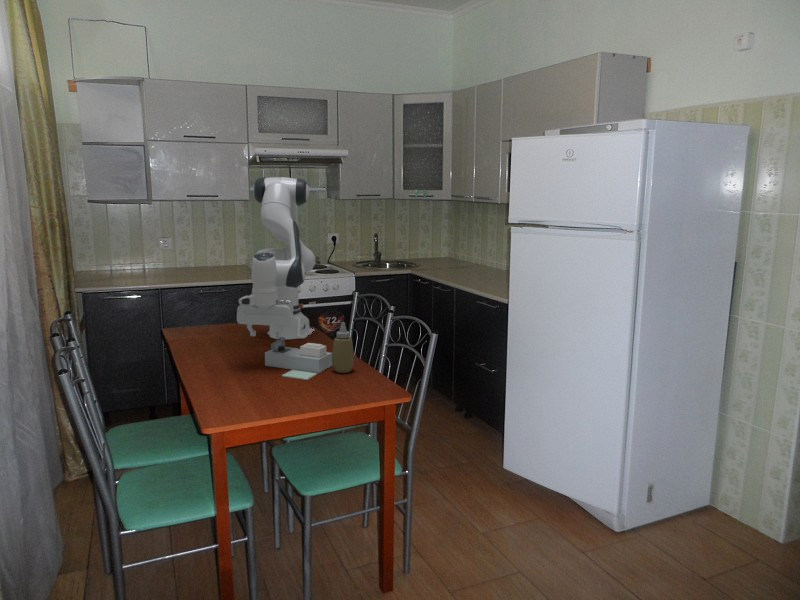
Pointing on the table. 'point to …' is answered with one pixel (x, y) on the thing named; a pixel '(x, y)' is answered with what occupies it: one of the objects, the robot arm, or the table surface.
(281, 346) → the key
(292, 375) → the pad
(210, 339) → the table surface
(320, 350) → the cover
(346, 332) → the squeeze bottle
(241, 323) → the robot arm
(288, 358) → the block
